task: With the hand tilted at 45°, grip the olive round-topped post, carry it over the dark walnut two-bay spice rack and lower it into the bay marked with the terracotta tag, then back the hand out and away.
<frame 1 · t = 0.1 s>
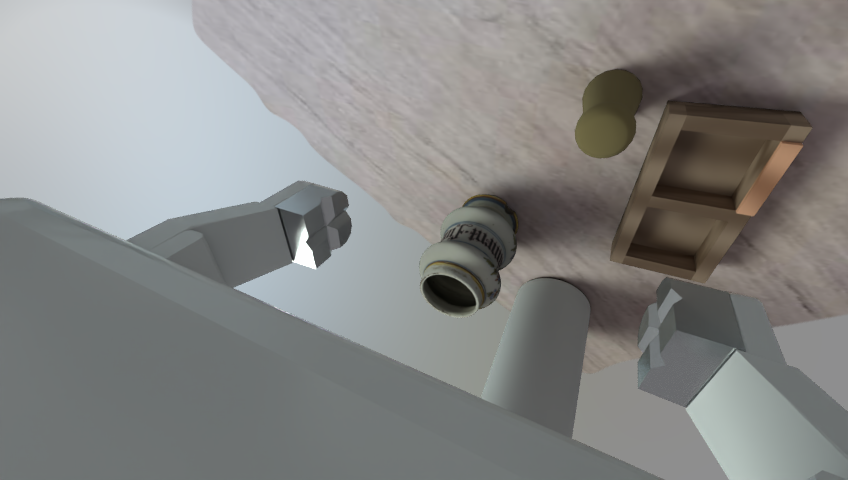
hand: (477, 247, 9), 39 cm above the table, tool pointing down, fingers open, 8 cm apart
spice rack: (686, 191, 42), on the table
cylinder vase: (553, 300, 63), on the table
olive round-topped post: (611, 97, 40), on the table
apothecary jar: (489, 218, 58), on the table
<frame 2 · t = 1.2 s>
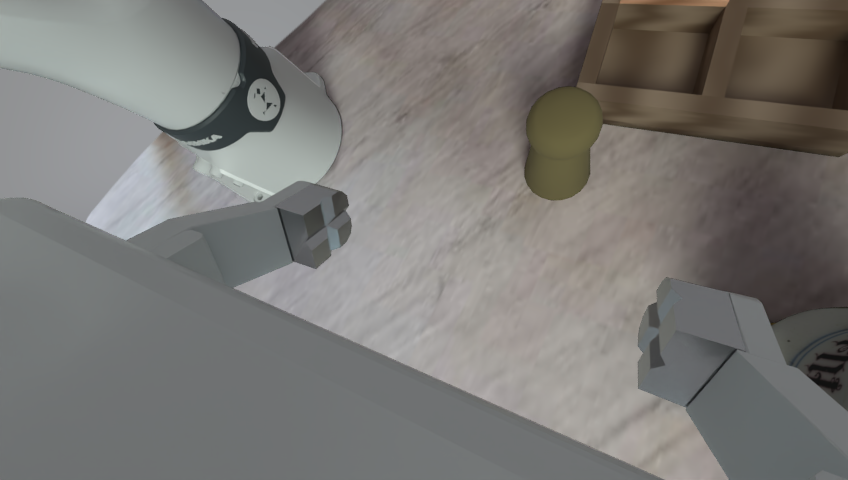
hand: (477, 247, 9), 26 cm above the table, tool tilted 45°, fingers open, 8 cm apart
spice rack: (703, 80, 32), on the table
olive round-topped post: (556, 171, 34), on the table
apothecary jar: (797, 389, 26), on the table
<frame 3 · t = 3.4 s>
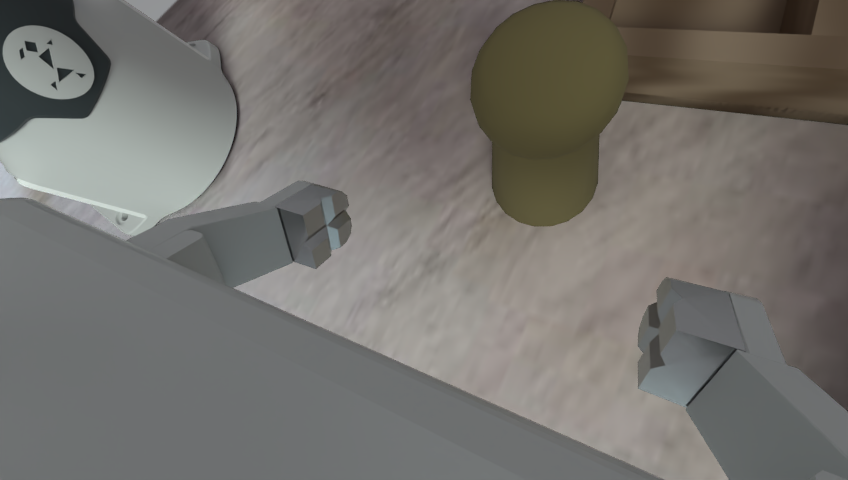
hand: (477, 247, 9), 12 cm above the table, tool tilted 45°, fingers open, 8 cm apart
spice rack: (793, 21, 18), on the table
olive round-topped post: (542, 179, 21), on the table
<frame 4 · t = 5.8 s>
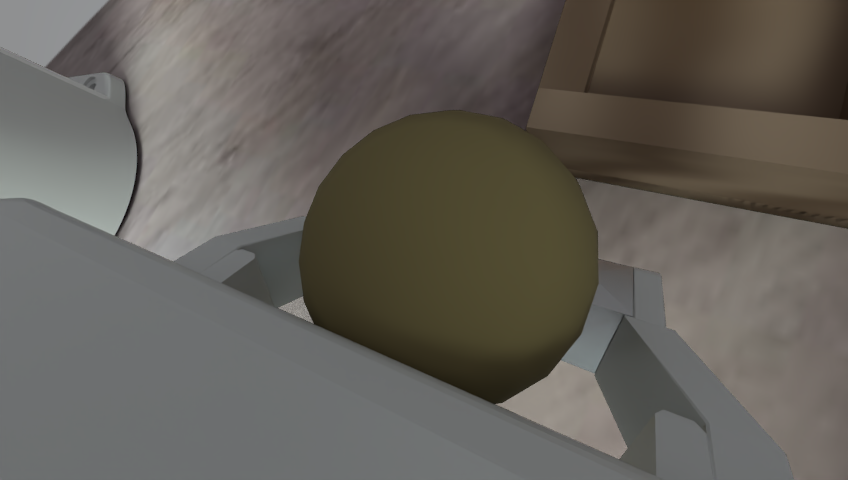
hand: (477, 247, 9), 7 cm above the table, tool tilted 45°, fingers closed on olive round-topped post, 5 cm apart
olive round-topped post: (499, 288, 15), on the table, touching gripper
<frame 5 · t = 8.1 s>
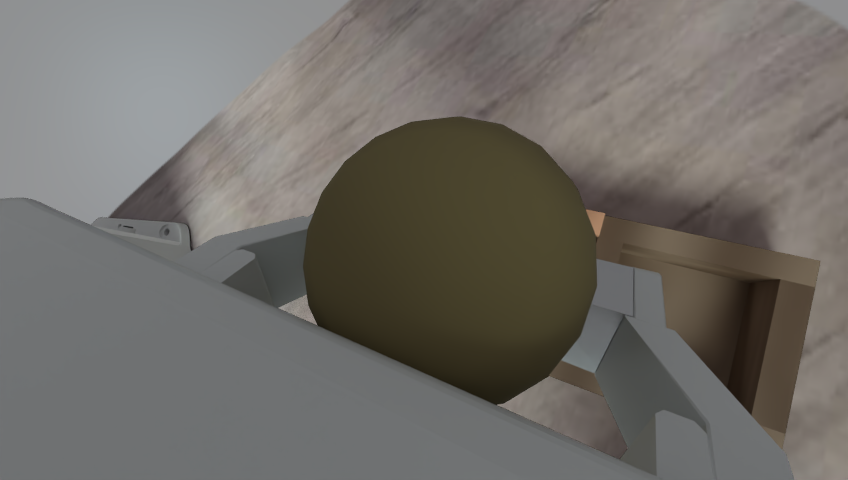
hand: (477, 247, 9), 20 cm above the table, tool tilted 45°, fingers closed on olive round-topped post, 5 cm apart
spice rack: (587, 300, 26), on the table
olive round-topped post: (500, 289, 15), point 13 cm above the table, touching gripper
when the fingers open (9 cm above the table, at t = 10.5 s): olive round-topped post stays where it is, resting on spice rack.
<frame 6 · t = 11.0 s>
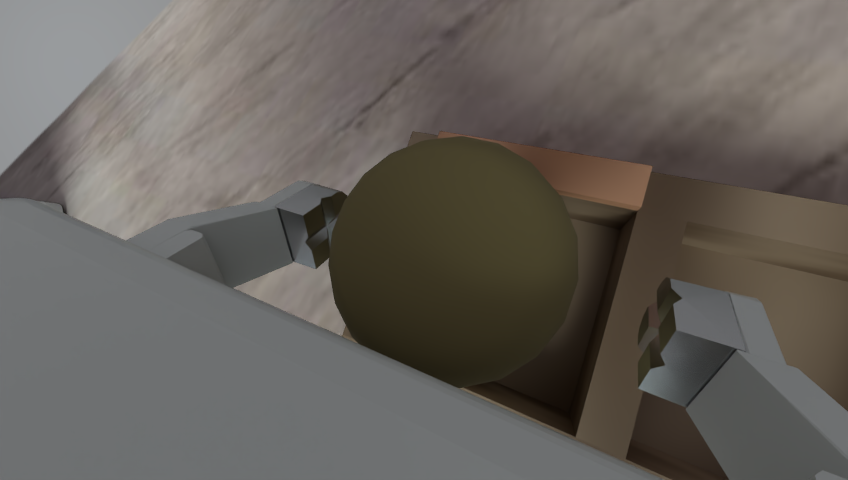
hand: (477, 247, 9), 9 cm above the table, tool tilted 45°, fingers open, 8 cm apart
spice rack: (611, 324, 15), on the table
olive round-topped post: (499, 288, 16), point 1 cm above the table, touching spice rack
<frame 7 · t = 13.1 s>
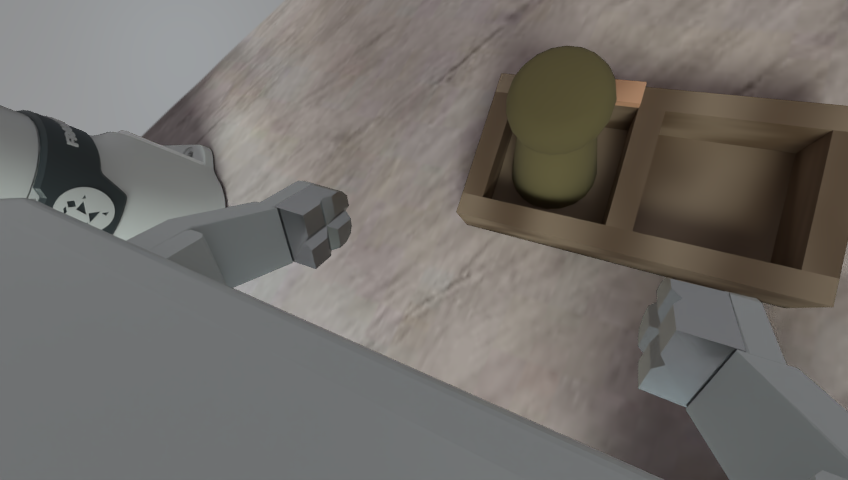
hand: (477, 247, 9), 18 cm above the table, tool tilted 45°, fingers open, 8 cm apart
spice rack: (622, 187, 25), on the table
olive round-topped post: (552, 171, 27), point 1 cm above the table, touching spice rack
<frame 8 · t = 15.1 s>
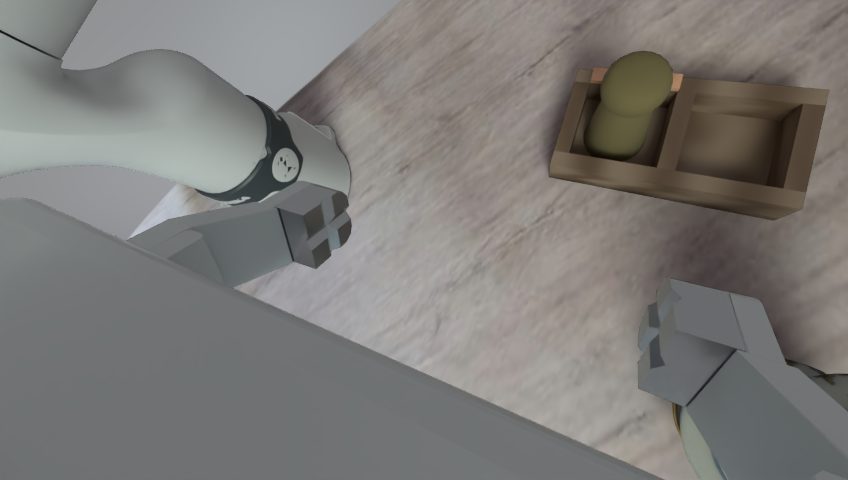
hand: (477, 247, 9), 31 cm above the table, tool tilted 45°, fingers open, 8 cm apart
spice rack: (663, 147, 37), on the table
olive round-topped post: (613, 137, 38), point 1 cm above the table, touching spice rack
apothecary jar: (736, 419, 31), on the table
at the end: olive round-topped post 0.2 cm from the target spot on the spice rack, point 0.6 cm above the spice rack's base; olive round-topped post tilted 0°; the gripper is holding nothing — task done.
